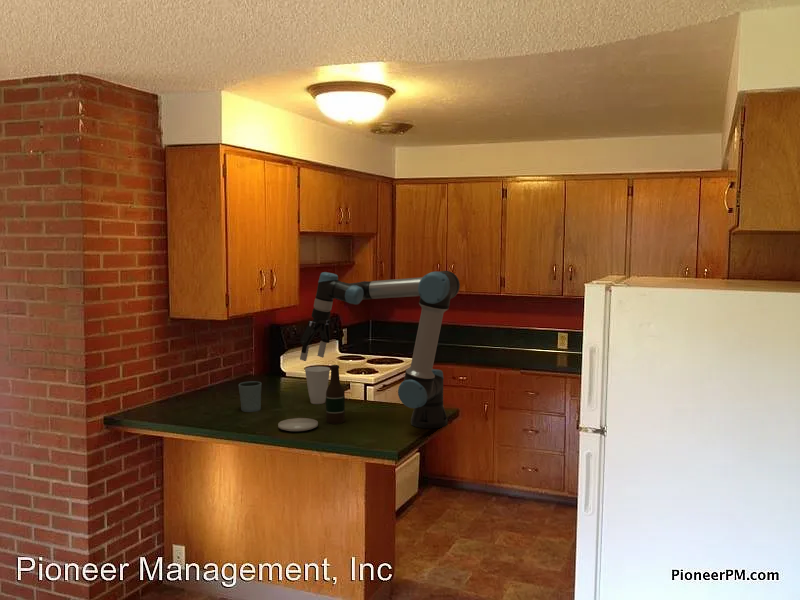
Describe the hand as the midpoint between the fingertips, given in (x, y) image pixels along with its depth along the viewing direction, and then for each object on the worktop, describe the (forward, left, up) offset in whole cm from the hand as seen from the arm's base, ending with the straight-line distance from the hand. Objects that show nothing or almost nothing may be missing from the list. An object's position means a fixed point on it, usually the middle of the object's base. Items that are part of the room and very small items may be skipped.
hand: (311, 358), depth 289 cm
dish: (-8, +9, -27) cm, 29 cm away
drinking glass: (+31, +20, -27) cm, 46 cm away
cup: (+32, -12, -27) cm, 44 cm away
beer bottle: (-5, -8, -27) cm, 29 cm away
